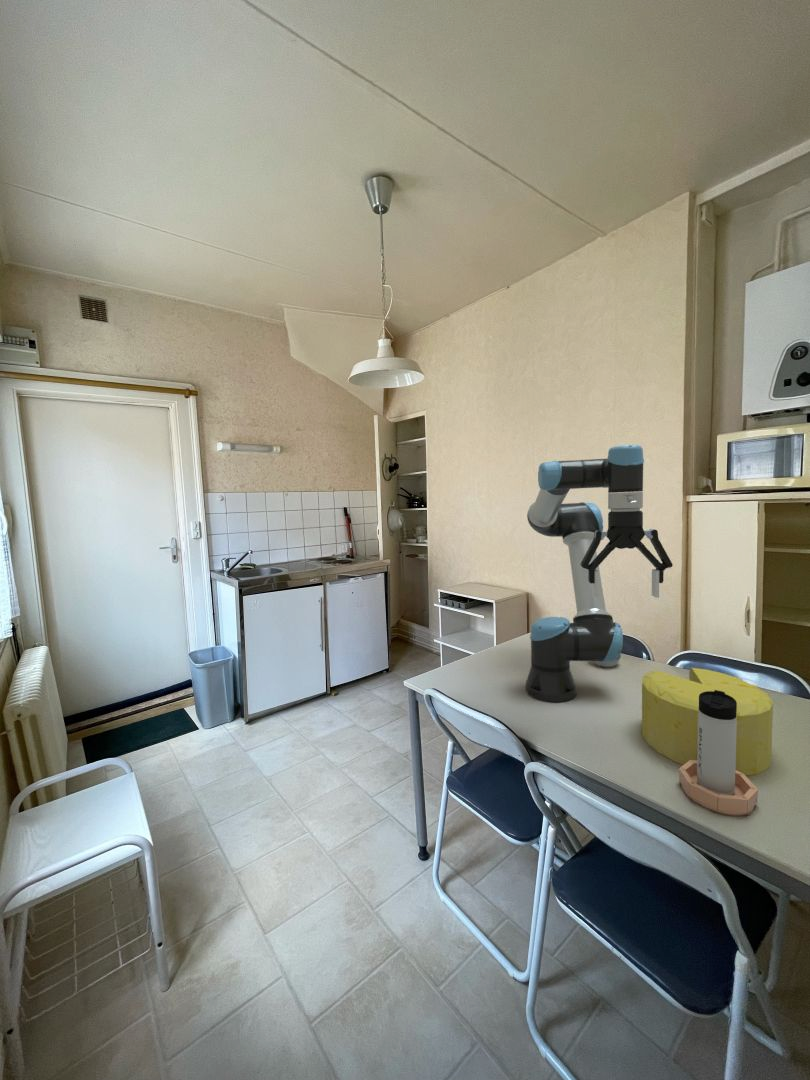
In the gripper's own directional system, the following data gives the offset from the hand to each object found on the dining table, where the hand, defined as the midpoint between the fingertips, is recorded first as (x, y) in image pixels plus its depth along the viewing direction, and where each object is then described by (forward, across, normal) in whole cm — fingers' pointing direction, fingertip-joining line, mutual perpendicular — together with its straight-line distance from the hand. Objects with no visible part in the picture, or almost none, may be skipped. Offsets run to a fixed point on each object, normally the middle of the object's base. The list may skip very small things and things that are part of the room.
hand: (625, 596), depth 106 cm
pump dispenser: (+37, +7, +50) cm, 63 cm away
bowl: (+37, +12, -20) cm, 43 cm away
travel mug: (+36, +12, -19) cm, 43 cm away
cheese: (+37, +18, 0) cm, 41 cm away
